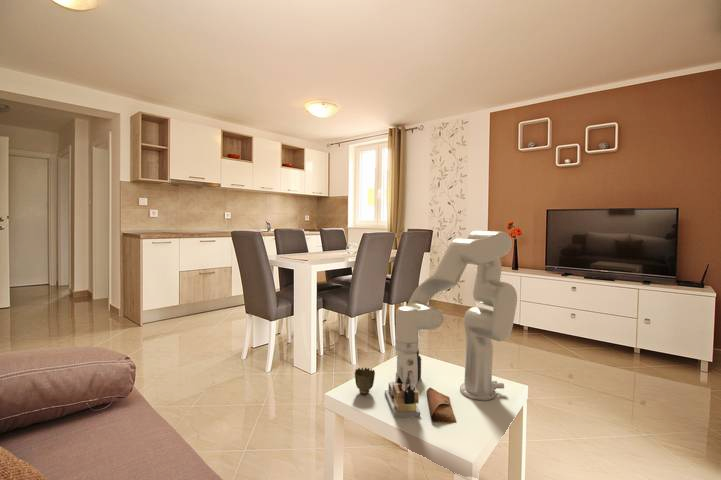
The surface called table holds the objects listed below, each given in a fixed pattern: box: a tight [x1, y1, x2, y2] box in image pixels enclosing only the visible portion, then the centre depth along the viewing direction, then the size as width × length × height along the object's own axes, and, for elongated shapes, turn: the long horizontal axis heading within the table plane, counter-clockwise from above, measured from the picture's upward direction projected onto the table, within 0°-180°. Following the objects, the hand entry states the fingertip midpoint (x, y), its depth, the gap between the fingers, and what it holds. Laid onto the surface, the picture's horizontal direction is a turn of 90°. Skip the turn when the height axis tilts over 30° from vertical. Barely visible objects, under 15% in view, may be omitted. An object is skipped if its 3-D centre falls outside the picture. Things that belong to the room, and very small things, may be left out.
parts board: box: [384, 389, 421, 419], centre depth 122 cm, size 8×16×2 cm, turn 7°
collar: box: [392, 383, 420, 404], centre depth 117 cm, size 7×7×4 cm
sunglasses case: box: [425, 387, 457, 424], centre depth 120 cm, size 18×7×7 cm, turn 175°
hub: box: [394, 383, 417, 412], centre depth 117 cm, size 6×6×8 cm
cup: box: [354, 367, 376, 395], centre depth 130 cm, size 8×7×8 cm
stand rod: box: [387, 371, 399, 399], centre depth 126 cm, size 6×6×8 cm
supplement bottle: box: [407, 348, 422, 382], centre depth 143 cm, size 7×7×12 cm
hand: (405, 396), depth 117 cm, fingers open, 9 cm apart
